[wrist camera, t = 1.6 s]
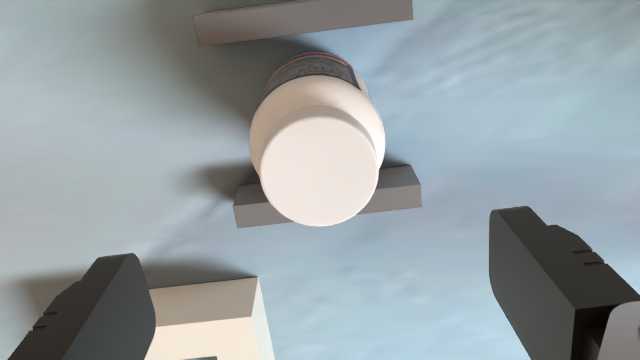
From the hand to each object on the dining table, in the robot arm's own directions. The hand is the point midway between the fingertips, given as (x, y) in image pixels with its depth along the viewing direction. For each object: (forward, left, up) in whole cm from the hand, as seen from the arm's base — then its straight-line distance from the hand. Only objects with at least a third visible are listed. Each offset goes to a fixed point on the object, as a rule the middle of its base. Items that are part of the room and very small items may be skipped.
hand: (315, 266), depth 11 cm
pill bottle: (0, 0, -15) cm, 15 cm away
